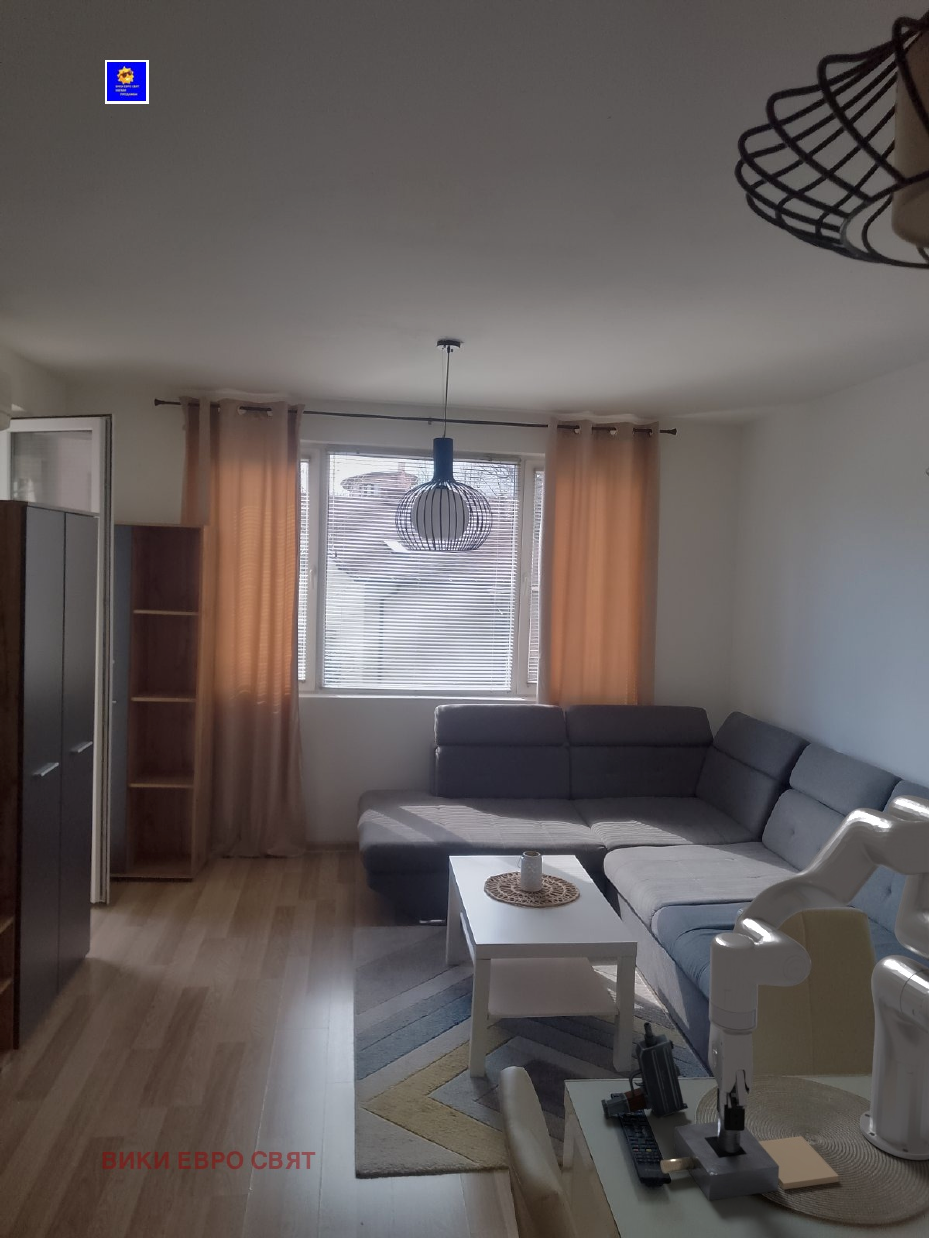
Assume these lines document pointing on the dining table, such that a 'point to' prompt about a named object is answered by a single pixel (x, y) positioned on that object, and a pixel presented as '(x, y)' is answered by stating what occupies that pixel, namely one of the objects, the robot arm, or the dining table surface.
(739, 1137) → the silver metal rod
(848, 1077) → the dining table surface
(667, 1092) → the gun
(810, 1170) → the pad
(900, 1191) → the dining table surface
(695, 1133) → the block
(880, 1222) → the dining table surface
